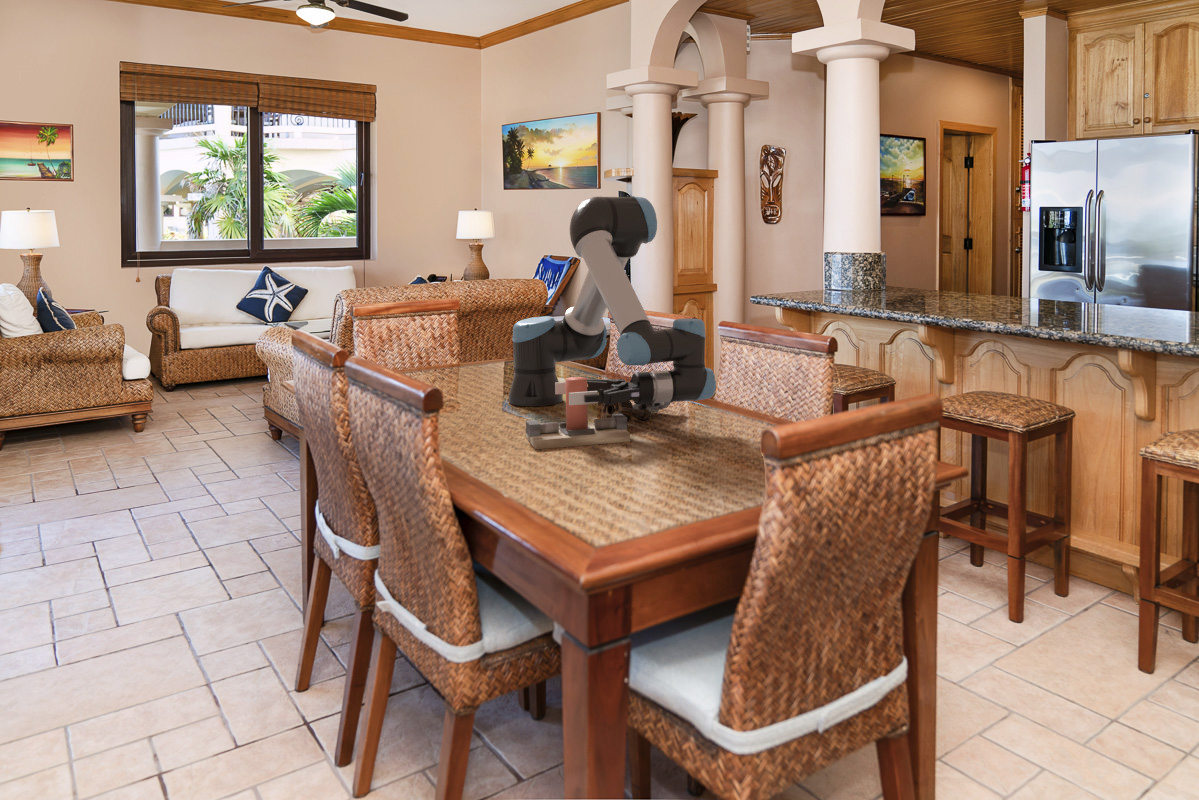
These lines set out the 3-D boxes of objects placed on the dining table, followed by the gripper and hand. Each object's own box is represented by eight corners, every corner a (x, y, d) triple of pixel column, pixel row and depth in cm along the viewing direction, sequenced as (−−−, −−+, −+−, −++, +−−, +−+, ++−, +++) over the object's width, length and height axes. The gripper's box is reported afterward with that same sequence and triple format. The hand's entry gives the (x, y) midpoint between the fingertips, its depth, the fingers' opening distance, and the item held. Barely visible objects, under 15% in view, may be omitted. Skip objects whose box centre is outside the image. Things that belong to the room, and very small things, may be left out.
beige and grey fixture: (523, 437, 212) (522, 417, 211) (617, 429, 218) (616, 410, 217) (533, 449, 200) (532, 428, 199) (632, 441, 206) (631, 420, 205)
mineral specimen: (641, 428, 239) (663, 432, 228) (616, 407, 235) (637, 410, 225) (663, 394, 241) (686, 396, 231) (639, 373, 238) (661, 374, 227)
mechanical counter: (595, 399, 227) (604, 398, 218) (643, 391, 230) (654, 389, 221) (599, 427, 227) (609, 427, 218) (647, 419, 230) (659, 418, 221)
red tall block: (561, 430, 209) (560, 378, 206) (578, 426, 212) (577, 376, 209) (575, 433, 205) (574, 381, 203) (592, 430, 208) (591, 379, 206)
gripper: (668, 413, 200) (575, 420, 195) (634, 393, 224) (550, 399, 218) (668, 380, 199) (575, 386, 193) (634, 364, 222) (550, 369, 217)
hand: (562, 393), depth 206 cm, fingers open, 13 cm apart
